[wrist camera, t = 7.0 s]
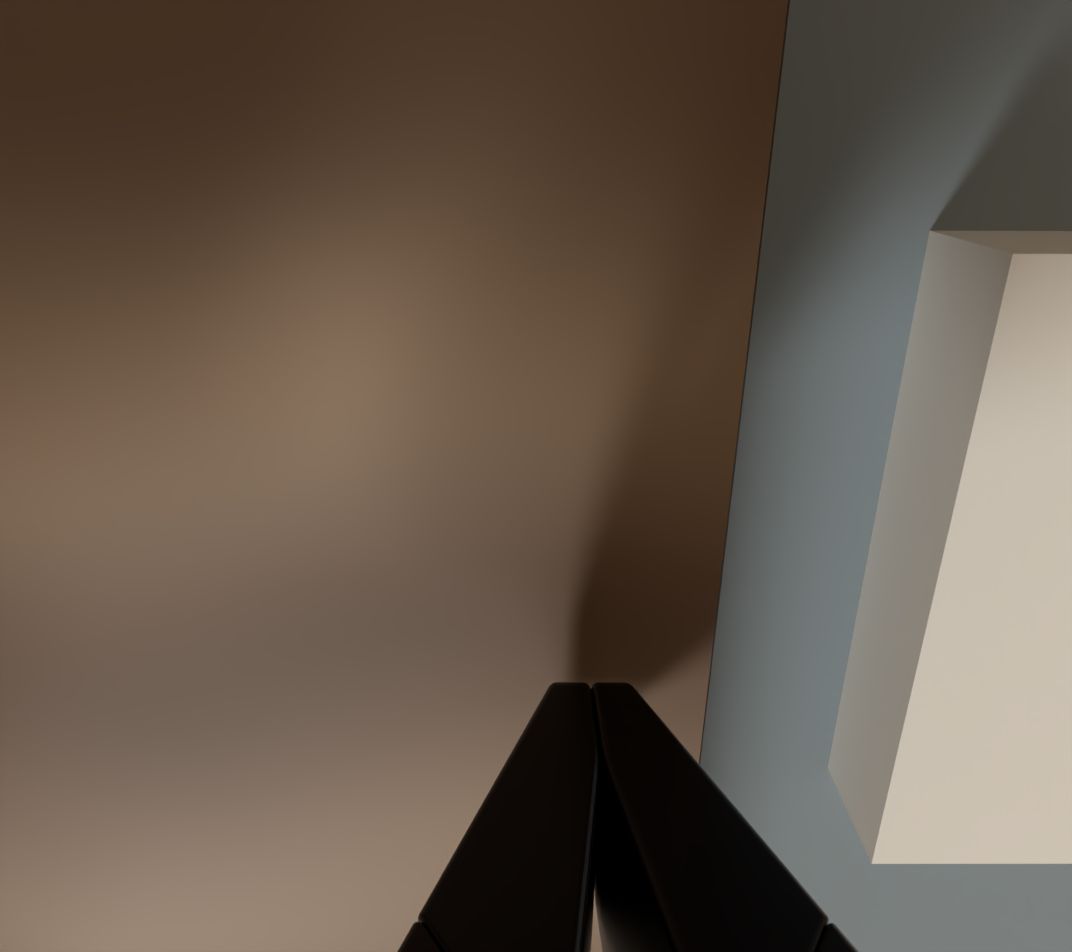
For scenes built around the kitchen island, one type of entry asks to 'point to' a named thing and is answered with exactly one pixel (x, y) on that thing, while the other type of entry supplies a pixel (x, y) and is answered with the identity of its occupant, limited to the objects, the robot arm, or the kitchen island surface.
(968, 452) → the cream rectangular block
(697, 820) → the robot arm
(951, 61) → the slate mat
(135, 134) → the walnut deck
